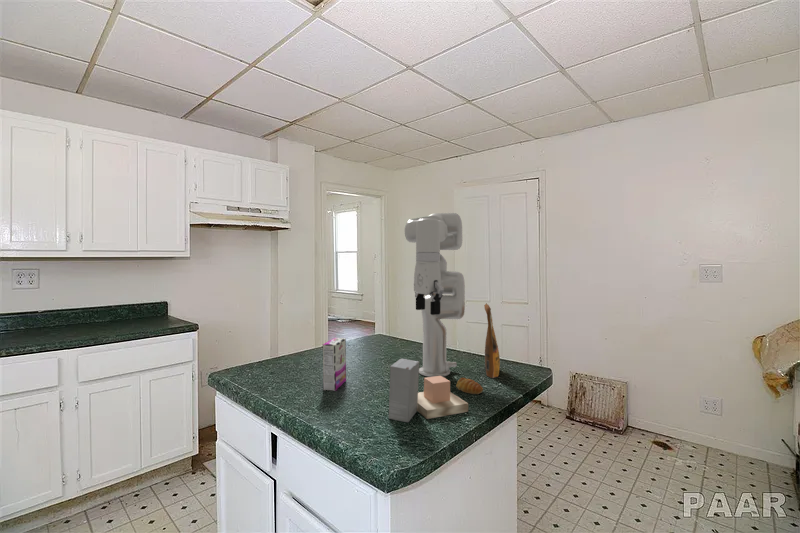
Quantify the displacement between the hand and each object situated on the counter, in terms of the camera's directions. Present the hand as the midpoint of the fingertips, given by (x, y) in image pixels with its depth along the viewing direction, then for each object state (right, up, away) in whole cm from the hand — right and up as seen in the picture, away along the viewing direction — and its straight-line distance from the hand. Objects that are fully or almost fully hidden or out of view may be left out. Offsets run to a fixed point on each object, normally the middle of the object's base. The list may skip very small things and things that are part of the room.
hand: (427, 311), depth 119 cm
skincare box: (-8, -30, -9) cm, 32 cm away
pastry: (+16, -30, +13) cm, 36 cm away
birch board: (+3, -29, -2) cm, 30 cm away
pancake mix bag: (+29, -29, +34) cm, 53 cm away
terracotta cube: (+3, -27, -2) cm, 27 cm away
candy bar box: (-32, -29, +17) cm, 47 cm away
